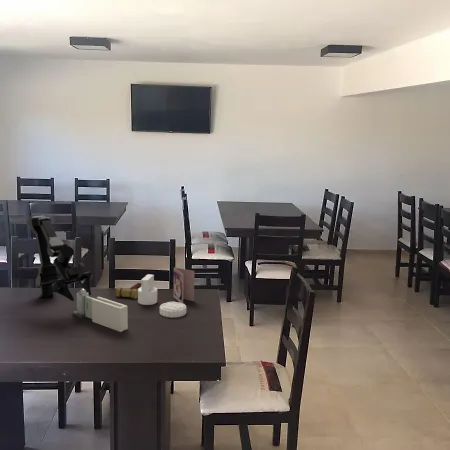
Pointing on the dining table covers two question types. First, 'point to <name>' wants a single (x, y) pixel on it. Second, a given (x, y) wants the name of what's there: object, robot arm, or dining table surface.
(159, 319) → the dining table surface
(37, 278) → the robot arm
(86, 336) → the dining table surface
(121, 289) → the gavel
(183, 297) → the greeting card
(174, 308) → the mooncake
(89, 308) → the door panel
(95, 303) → the white slotted block
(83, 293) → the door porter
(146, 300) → the base with upright slab
